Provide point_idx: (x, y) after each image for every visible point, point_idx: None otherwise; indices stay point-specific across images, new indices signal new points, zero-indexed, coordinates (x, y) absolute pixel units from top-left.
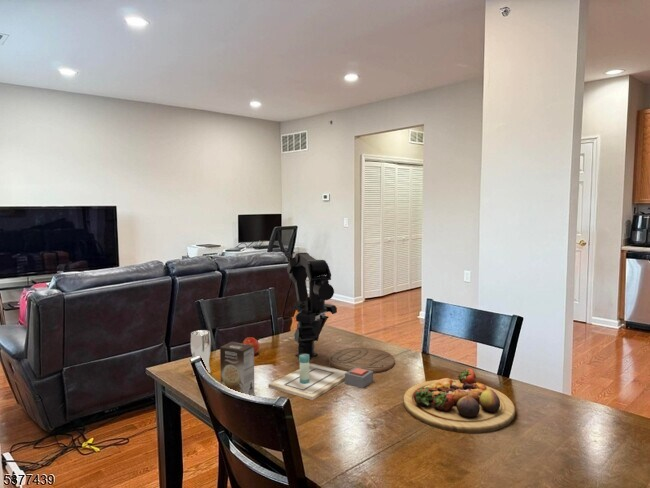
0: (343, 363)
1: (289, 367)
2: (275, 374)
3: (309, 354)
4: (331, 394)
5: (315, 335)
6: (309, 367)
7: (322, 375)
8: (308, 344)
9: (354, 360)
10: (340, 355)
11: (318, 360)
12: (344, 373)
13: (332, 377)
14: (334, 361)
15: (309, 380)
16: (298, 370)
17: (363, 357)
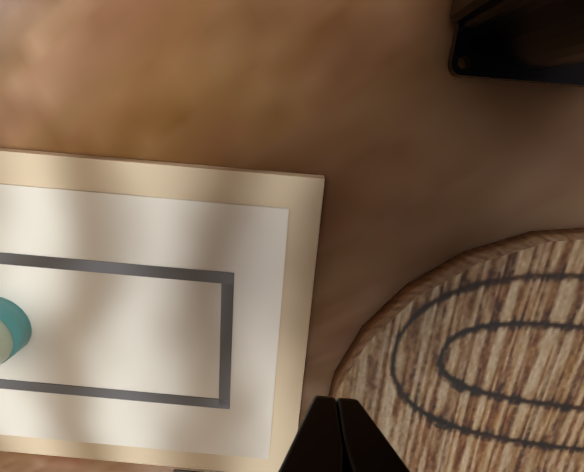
0: (397, 399)
1: (201, 34)
2: (15, 23)
3: (508, 55)
4: (26, 466)
5: (309, 407)
6: (221, 227)
7: (149, 368)
8: (573, 22)
9: (483, 434)
10: (559, 317)
11: (457, 167)
12: (252, 454)
13: (159, 425)
14: (408, 335)
15: (15, 353)
16: (134, 179)
17: (565, 459)
